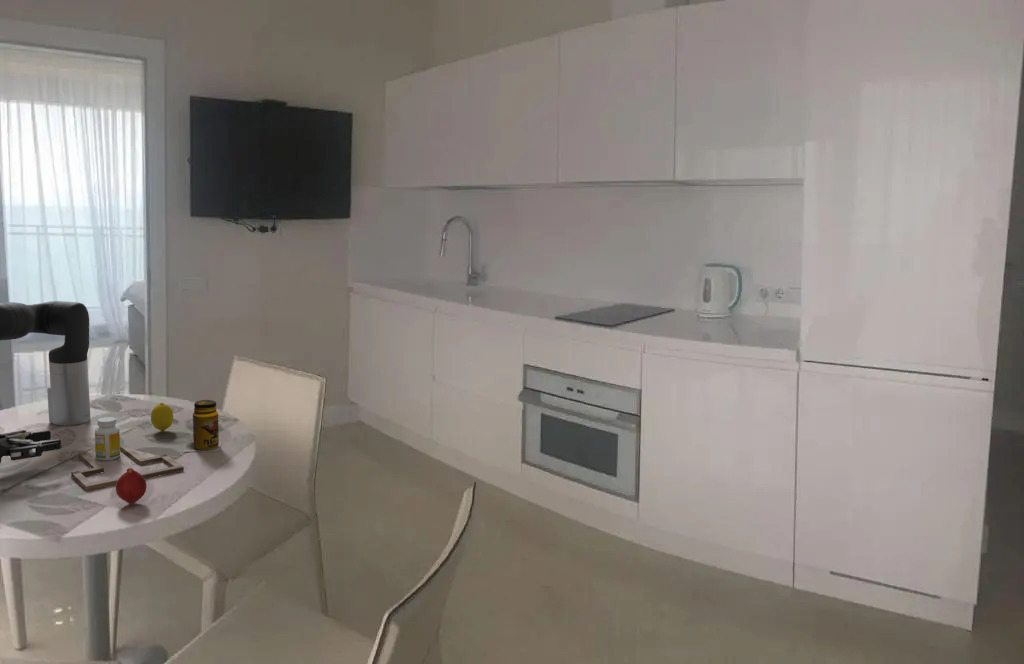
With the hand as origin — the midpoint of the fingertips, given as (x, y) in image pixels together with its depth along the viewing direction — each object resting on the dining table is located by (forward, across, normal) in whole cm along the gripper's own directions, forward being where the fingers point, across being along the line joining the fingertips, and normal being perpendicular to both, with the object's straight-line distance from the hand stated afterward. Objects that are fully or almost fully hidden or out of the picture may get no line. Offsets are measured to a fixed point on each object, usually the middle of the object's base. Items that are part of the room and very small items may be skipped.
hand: (55, 439), depth 188 cm
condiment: (+32, -6, +7) cm, 33 cm away
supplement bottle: (+11, 0, +7) cm, 13 cm away
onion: (+6, -32, +7) cm, 34 cm away
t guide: (+11, -8, +7) cm, 15 cm away
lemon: (+29, +13, +7) cm, 32 cm away
